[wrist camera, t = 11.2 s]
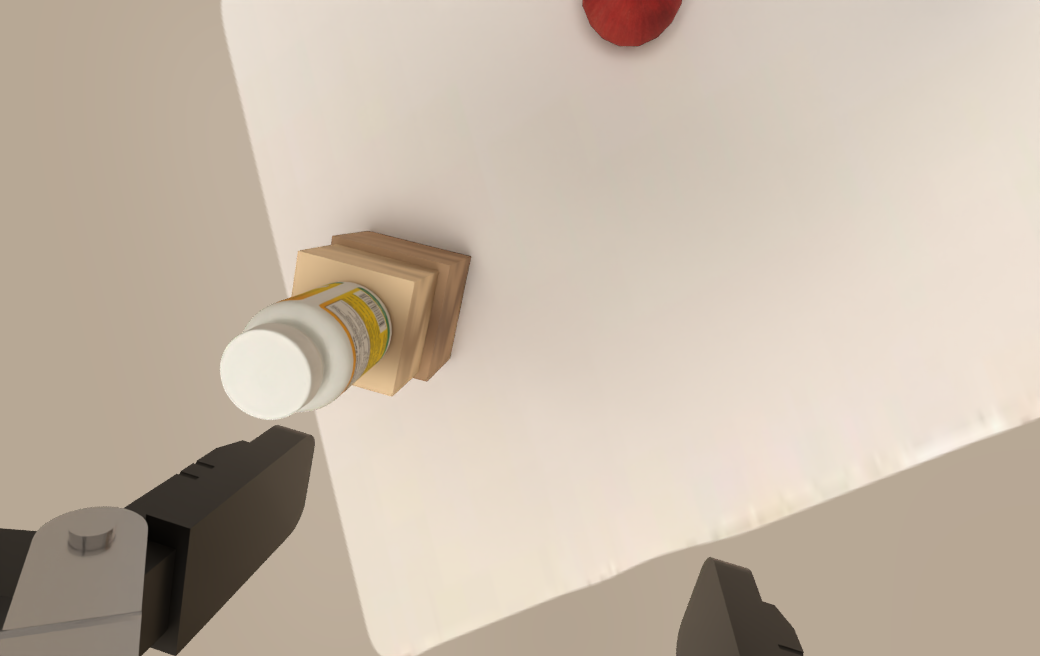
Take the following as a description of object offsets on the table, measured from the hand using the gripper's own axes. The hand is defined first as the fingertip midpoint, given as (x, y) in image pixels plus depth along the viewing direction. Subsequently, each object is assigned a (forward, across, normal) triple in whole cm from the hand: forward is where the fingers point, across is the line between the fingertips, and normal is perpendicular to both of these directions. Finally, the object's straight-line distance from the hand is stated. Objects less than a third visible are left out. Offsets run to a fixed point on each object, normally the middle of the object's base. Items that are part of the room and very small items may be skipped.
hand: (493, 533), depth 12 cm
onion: (+33, +2, -18) cm, 37 cm away
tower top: (+26, +12, +4) cm, 29 cm away
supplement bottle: (+21, +12, +4) cm, 25 cm away
